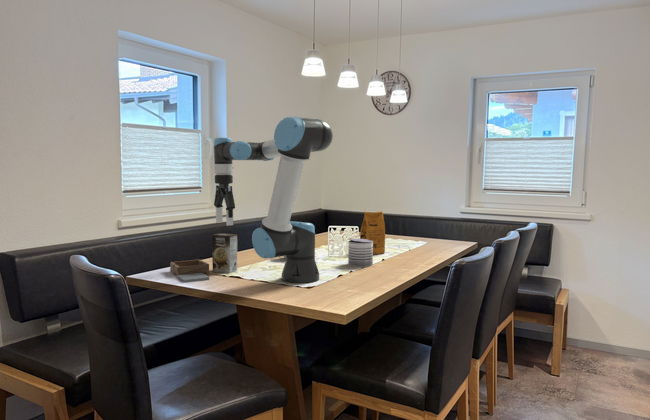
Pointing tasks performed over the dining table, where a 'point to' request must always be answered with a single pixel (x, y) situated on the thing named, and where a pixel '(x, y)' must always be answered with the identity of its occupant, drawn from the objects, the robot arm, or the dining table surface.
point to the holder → (189, 267)
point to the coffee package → (374, 231)
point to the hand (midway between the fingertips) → (224, 223)
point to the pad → (193, 277)
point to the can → (360, 252)
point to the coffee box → (224, 252)
